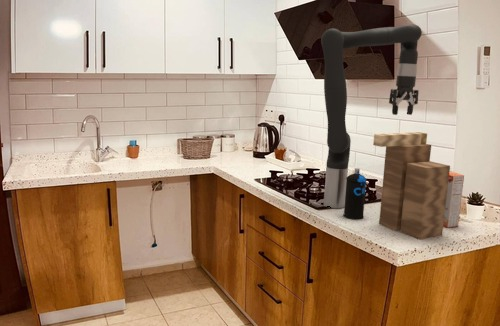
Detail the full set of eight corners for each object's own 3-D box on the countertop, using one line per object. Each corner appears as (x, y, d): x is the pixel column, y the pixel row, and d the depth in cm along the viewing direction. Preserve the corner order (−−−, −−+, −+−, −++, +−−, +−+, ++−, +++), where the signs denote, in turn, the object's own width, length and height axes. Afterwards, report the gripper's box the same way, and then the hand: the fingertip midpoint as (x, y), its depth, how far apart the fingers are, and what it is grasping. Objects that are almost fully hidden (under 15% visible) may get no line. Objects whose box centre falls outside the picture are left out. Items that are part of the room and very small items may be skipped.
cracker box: (421, 217, 195) (426, 167, 191) (433, 216, 198) (438, 167, 194) (446, 228, 183) (452, 175, 179) (458, 226, 185) (465, 174, 181)
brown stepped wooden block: (417, 239, 169) (426, 151, 162) (379, 224, 185) (386, 143, 179) (443, 234, 175) (454, 149, 169) (404, 219, 192) (412, 141, 185)
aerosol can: (339, 215, 194) (342, 167, 190) (351, 212, 199) (355, 165, 195) (355, 220, 188) (359, 171, 184) (367, 217, 193) (371, 169, 189)
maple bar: (381, 146, 169) (382, 135, 168) (373, 145, 172) (374, 134, 172) (426, 144, 180) (427, 133, 179) (417, 142, 183) (418, 132, 182)
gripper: (401, 74, 188) (396, 115, 191) (425, 76, 195) (421, 115, 198) (387, 74, 194) (383, 113, 198) (411, 75, 201) (407, 113, 204)
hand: (402, 114), depth 198 cm, fingers open, 8 cm apart
